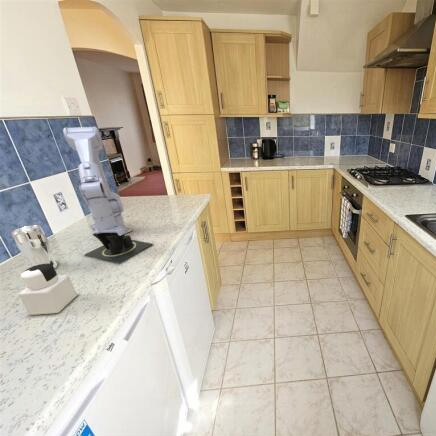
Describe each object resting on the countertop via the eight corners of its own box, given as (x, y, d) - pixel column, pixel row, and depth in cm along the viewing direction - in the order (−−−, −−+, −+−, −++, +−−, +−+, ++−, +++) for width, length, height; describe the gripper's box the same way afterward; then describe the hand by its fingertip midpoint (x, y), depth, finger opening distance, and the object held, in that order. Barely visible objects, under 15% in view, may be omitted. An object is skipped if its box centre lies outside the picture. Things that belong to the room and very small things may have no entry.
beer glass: (64, 264, 85) (46, 225, 79) (39, 276, 79) (18, 235, 73) (51, 261, 87) (32, 223, 81) (26, 272, 81) (4, 232, 75)
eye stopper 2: (122, 247, 94) (119, 238, 92) (129, 243, 96) (126, 234, 95) (127, 248, 93) (124, 239, 91) (134, 244, 95) (131, 235, 94)
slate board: (85, 255, 90) (84, 253, 90) (120, 238, 102) (120, 237, 102) (119, 264, 84) (118, 262, 84) (152, 245, 96) (152, 243, 96)
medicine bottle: (52, 296, 69) (33, 261, 65) (78, 294, 70) (61, 259, 65) (29, 315, 63) (7, 277, 58) (58, 313, 63) (38, 275, 59)
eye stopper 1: (109, 253, 89) (105, 244, 88) (117, 249, 92) (113, 240, 90) (115, 255, 88) (111, 245, 87) (122, 251, 91) (119, 241, 89)
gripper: (76, 217, 83) (90, 251, 89) (105, 222, 79) (118, 258, 84) (97, 210, 89) (109, 242, 95) (125, 214, 85) (136, 248, 90)
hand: (115, 249), depth 90 cm, fingers open, 4 cm apart
